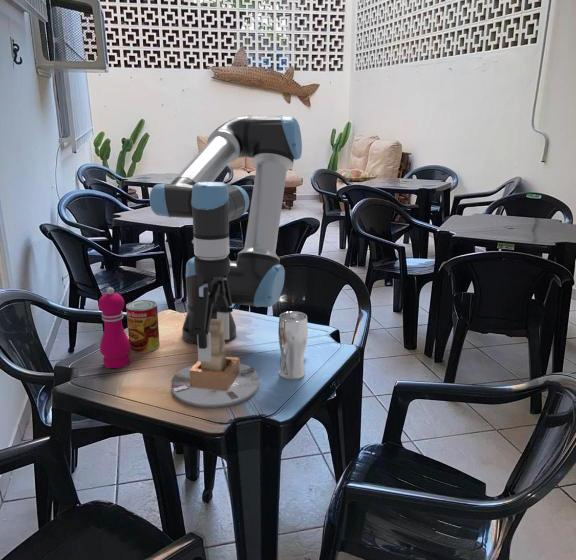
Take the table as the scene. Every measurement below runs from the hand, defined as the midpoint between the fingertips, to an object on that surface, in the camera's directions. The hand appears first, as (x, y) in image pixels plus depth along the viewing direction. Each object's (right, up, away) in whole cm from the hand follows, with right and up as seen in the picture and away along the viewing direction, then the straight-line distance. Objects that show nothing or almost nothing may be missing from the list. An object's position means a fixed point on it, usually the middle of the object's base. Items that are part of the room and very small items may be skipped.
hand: (214, 349), depth 119 cm
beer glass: (+18, -7, +9) cm, 21 cm away
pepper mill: (-26, -5, +13) cm, 30 cm away
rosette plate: (0, -9, +3) cm, 9 cm away
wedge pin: (0, -7, +2) cm, 8 cm away
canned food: (-22, -3, +23) cm, 32 cm away
